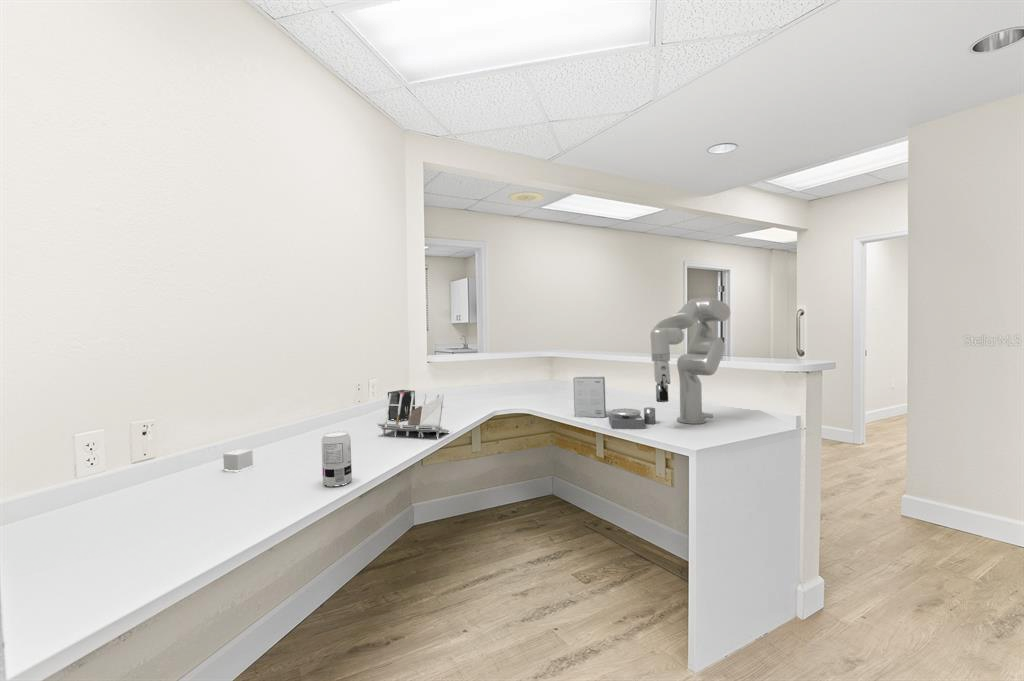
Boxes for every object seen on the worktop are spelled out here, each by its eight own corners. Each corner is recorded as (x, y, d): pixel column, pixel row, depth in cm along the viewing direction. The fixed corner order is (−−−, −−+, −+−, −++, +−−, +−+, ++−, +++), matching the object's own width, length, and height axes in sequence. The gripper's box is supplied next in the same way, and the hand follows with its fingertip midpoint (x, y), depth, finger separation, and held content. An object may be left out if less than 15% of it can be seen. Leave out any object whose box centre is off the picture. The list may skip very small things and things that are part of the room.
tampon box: (400, 421, 228) (399, 393, 228) (387, 420, 233) (387, 392, 233) (416, 418, 237) (415, 390, 237) (403, 416, 242) (402, 389, 242)
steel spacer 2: (667, 399, 199) (666, 384, 198) (669, 402, 194) (669, 385, 193) (655, 400, 199) (654, 384, 199) (657, 402, 194) (656, 386, 194)
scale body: (639, 422, 213) (639, 413, 213) (644, 428, 199) (644, 419, 199) (609, 422, 215) (608, 413, 215) (611, 428, 201) (611, 419, 201)
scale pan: (638, 414, 212) (638, 408, 212) (642, 419, 200) (642, 413, 200) (610, 414, 214) (609, 408, 214) (612, 419, 201) (612, 413, 201)
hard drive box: (606, 414, 233) (605, 376, 233) (605, 417, 226) (604, 378, 225) (575, 414, 237) (575, 376, 237) (574, 416, 230) (573, 377, 229)
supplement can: (317, 484, 136) (315, 435, 136) (342, 477, 143) (340, 429, 142) (332, 489, 131) (330, 438, 131) (357, 481, 138) (355, 433, 137)
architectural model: (428, 436, 181) (435, 384, 187) (367, 433, 190) (375, 383, 196) (450, 441, 199) (455, 393, 205) (393, 438, 208) (400, 392, 214)
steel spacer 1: (654, 422, 213) (654, 407, 212) (656, 424, 208) (656, 409, 208) (643, 422, 213) (643, 407, 213) (645, 424, 208) (645, 409, 208)
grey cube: (224, 471, 152) (223, 453, 152) (239, 466, 158) (238, 449, 158) (238, 472, 150) (237, 454, 150) (253, 467, 156) (252, 450, 156)
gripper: (674, 359, 187) (676, 402, 188) (665, 355, 204) (666, 395, 205) (655, 360, 188) (657, 403, 189) (648, 356, 205) (649, 396, 205)
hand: (662, 398), depth 197 cm, fingers closed on steel spacer 2, 5 cm apart
